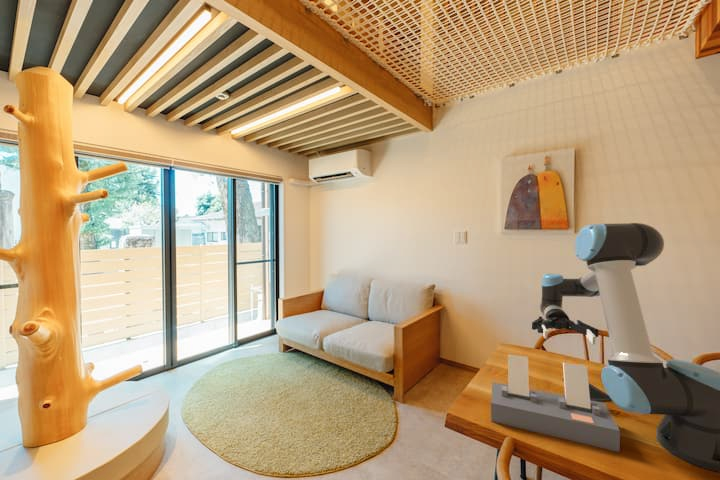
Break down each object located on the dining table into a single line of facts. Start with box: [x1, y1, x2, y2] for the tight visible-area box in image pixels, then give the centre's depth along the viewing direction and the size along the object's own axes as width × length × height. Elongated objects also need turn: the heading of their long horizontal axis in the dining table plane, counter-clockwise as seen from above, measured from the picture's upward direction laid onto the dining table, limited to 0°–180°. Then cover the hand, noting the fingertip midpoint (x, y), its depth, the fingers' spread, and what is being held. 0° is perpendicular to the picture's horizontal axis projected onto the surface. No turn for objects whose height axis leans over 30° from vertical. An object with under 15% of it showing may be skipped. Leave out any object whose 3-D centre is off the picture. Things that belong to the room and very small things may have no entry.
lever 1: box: [507, 353, 530, 397], centre depth 99 cm, size 2×6×12 cm, turn 65°
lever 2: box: [562, 362, 591, 409], centre depth 93 cm, size 2×6×12 cm, turn 65°
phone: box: [562, 377, 613, 402], centre depth 111 cm, size 8×1×15 cm
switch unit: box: [490, 381, 621, 453], centre depth 94 cm, size 14×32×8 cm, turn 64°
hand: (569, 337), depth 100 cm, fingers open, 13 cm apart
